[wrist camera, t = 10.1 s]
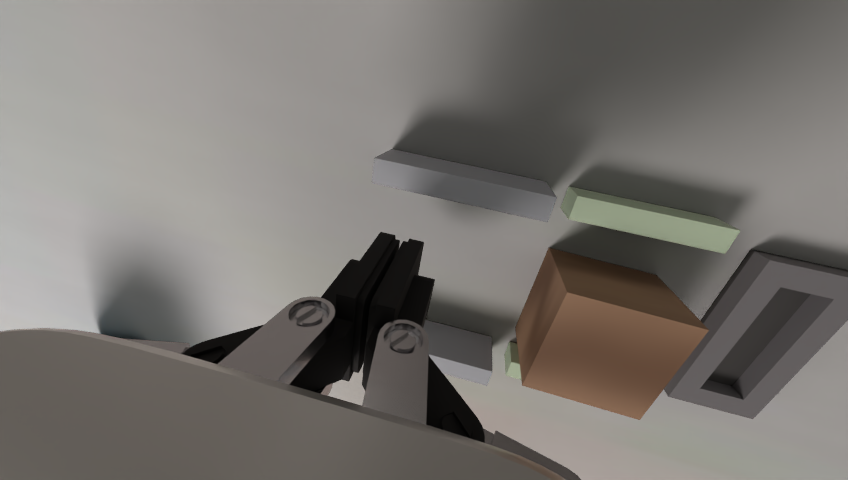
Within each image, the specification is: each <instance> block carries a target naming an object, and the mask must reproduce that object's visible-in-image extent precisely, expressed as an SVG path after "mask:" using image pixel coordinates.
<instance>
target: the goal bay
mask: <svg viewBox="0 0 848 480" xmlns="http://www.w3.org/2000/svg"><path fill="white" fill-rule="evenodd" d="M561 209H562V211H563V212H564V214H565V215H566V217H567V218H568V219H569V220H574V221H578V222H583V223H588V224H592V225H597V226H601V227H606V228H610V229H615V230H619V231H624V232H628V233H633V234H637V235H642V236H646V237H651V238H655V239H660V240H664V241H669V242H673V243H678V244H682V245H687V246H691V247H696V248H701V249H705V250H710V251H714V252H719V253H723V254H725V253H726V252H727V250H728V249H729V247H730V246H731V244H732V243H733V241H734V240H735V238H736V237H737V235H738V234H739V232H740V230H738V229H736V228H734V227H732V226H731V225H729V224H727V223H725V222H723V221H721V220H719V219H717V218H715V217H711V216H706V215H702V214H697V213H692V212H687V211H683V210H678V209H673V208H669V207H664V206H659V205H654V204H650V203H645V202H640V201H635V200H631V199H626V198H621V197H617V196H612V195H607V194H602V193H598V192H593V191H588V190H583V189H579V188H574V187H568V190H567V192H566V195H565V198H564V200H563V203H562V205H561ZM505 370H506V376H509V377H513V378H517V379H520V380H522V379H521V371H520V363H519V354H518V346H517V344H516V343H512V342H509V344H508V347H507V350H506V352H505Z"/></svg>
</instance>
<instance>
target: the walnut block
mask: <svg viewBox="0 0 848 480" xmlns="http://www.w3.org/2000/svg"><path fill="white" fill-rule="evenodd" d="M515 329H516V337H517V346H518V354H519V363H520V371H521V379H522V385H523V386H526V387H529V388H533V389H536V390H540V391H543V392H546V393H550V394H553V395H557V396H560V397H563V398H567V399H570V400H574V401H577V402H580V403H584V404H587V405H591V406H594V407H597V408H601V409H604V410H608V411H611V412H614V413H618V414H621V415H625V416H628V417H631V418H635V419H638V420H640V419H641V418H642V416H643V415H644V414H645V412H646V411H647V410H648V409H649V407H650V406H651V405H652V403H653V402H654V401H655V399H656V398H657V397H658V396H659V394H660V393H661V392H662V390H663V389H664V388H665V387H666V385H667V384H668V383H669V381H670V380H671V379H672V378H673V376H674V375H675V374H676V372H677V371H678V370H679V369H680V367H681V366H682V365H683V363H684V362H685V361H686V360H687V358H688V357H689V356H690V354H691V353H692V352H693V350H694V349H695V348H696V347H697V345H698V344H699V343H700V341H701V340H702V339H703V338H704V336H705V335H706V334H707V332H708V331H709V329H708V328H707V327H706V326H705V325H704V324H703V323H702V322H701V321H700V320H699V319H698V318H697V317H696V316H695V315H694V314H693V313H692V312H691V311H690V310H689V309H688V308H687V306H686V305H685V304H684V303H683V302H682V301H681V300H680V299H679V298H678V297H677V296H676V295H675V294H674V293H673V292H672V291H671V290H670V289H669V288H668V287H667V286H666V285H665V283H664V282H663V281H662V280H661V279H660V278H659V277H658V276H657V275H654V274H650V273H646V272H642V271H638V270H635V269H631V268H627V267H623V266H619V265H615V264H611V263H607V262H603V261H599V260H595V259H591V258H588V257H584V256H580V255H576V254H572V253H568V252H564V251H560V250H556V249H552V248H549V249H548V251H547V253H546V256H545V258H544V260H543V263H542V265H541V268H540V270H539V272H538V275H537V277H536V280H535V282H534V284H533V287H532V289H531V291H530V294H529V296H528V299H527V301H526V303H525V306H524V308H523V310H522V313H521V315H520V318H519V320H518V322H517V325H516V327H515Z"/></svg>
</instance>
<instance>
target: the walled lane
mask: <svg viewBox="0 0 848 480" xmlns="http://www.w3.org/2000/svg"><path fill="white" fill-rule="evenodd" d="M372 183H374V184H378V185H383V186H387V187H392V188H396V189H401V190H405V191H410V192H414V193H419V194H423V195H428V196H432V197H437V198H441V199H446V200H450V201H455V202H459V203H463V204H468V205H472V206H477V207H481V208H486V209H490V210H495V211H499V212H504V213H508V214H513V215H517V216H522V217H526V218H531V219H535V220H540V221H544V222H548V220H549V218H550V215H551V212H552V209H553V207H554V204H555V201H556V199H557V197H556V195H555V194H554V193H553V191H552V190H551V188H550V187H549V186H548V184H547V183H546V181H541V180H536V179H531V178H527V177H522V176H517V175H513V174H508V173H503V172H498V171H494V170H489V169H484V168H479V167H475V166H470V165H465V164H461V163H456V162H451V161H446V160H442V159H437V158H432V157H427V156H423V155H418V154H413V153H409V152H404V151H399V150H394V149H391V150H389V151H387V152H385V153H383V154H381V155H379V156H377V157H375V158H374V166H373V176H372ZM423 329H424V330H425V331H426V333H427V335H428V339H429V356H430V358H431V359H432V360H433V361H434V363H435V364H436V365H437V367H438V368H439V369H440V370H441V372H442V373H443V374H446V375H450V376H453V377H457V378H461V379H464V380H468V381H471V382H475V383H479V384H482V385H486V386H487V385H488V382H489V379H490V377H491V374H492V337H490V336H486V335H482V334H478V333H474V332H470V331H467V330H463V329H459V328H455V327H451V326H447V325H444V324H440V323H436V322H432V321H428V320H425V324H424V327H423Z"/></svg>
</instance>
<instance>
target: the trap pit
mask: <svg viewBox="0 0 848 480" xmlns="http://www.w3.org/2000/svg"><path fill="white" fill-rule="evenodd" d="M847 320H848V271H847V270H843V269H838V268H834V267H829V266H825V265H820V264H815V263H811V262H806V261H802V260H797V259H793V258H788V257H783V256H779V255H774V254H770V253H765V252H760V251H756V250H750V251H749V253H748V254H747V256H746V257H745V259H744V260H743V261H742V263H741V264H740V266H739V267H738V269H737V270H736V271H735V273H734V274H733V276H732V277H731V279H730V280H729V281H728V283H727V284H726V286H725V287H724V289H723V290H722V291H721V293H720V294H719V296H718V297H717V298H716V300H715V301H714V303H713V304H712V306H711V307H710V308H709V310H708V311H707V313H706V314H705V316H704V317H703V318H702V320H701V322H702V323H703V324H704V325H705V326H706V327H707V328H708V329H709V331H708V332H707V334H706V335H705V336H704V338H703V339H702V340H701V341H700V343H699V344H698V345H697V347H696V348H695V349H694V350H693V352H692V353H691V354H690V356H689V357H688V358H687V360H686V361H685V362H684V363H683V365H682V366H681V367H680V369H679V370H678V371H677V372H676V374H675V375H674V376H673V378H672V379H671V380H670V381H669V383H668V384H667V385H666V387H665V388H664V390H665V392H666V393H667V395H668V397H672V398H676V399H679V400H683V401H687V402H691V403H694V404H698V405H702V406H706V407H709V408H713V409H717V410H721V411H725V412H728V413H732V414H736V415H740V416H743V417H747V418H751V419H753V418H754V417H755V416H756V415H757V414H758V413H759V412H760V411H761V410H762V409H763V408H764V407H765V406H766V405H767V404H768V403H769V402H770V401H771V400H772V399H773V398H774V397H775V395H776V394H777V393H778V392H779V391H780V390H781V389H782V388H783V387H784V386H785V385H786V384H787V383H788V382H789V381H790V380H791V379H792V378H793V377H794V376H795V375H796V374H797V373H798V371H799V370H800V369H801V368H802V367H803V366H804V365H805V364H806V363H807V362H808V361H809V360H810V359H811V358H812V357H813V356H814V355H815V354H816V353H817V352H818V351H819V350H820V349H821V347H822V346H823V345H824V344H825V343H826V342H827V341H828V340H829V339H830V338H831V337H832V336H833V335H834V334H835V333H836V332H837V331H838V330H839V329H840V328H841V327H842V326H843V325H844V323H845V322H846V321H847Z"/></svg>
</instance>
